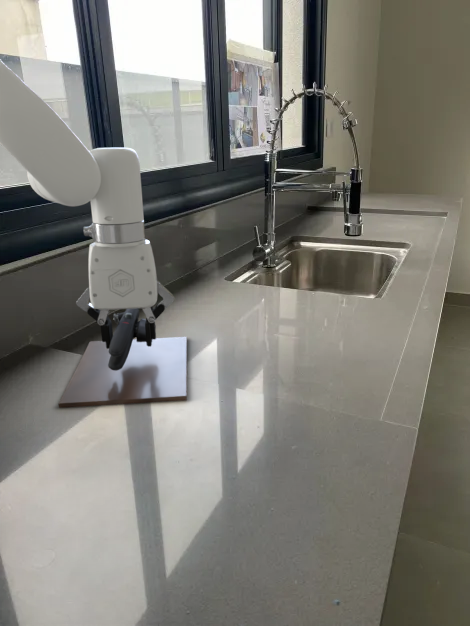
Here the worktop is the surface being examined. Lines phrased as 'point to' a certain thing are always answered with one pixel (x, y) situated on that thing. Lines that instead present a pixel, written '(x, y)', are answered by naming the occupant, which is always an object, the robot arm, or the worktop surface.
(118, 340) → the can opener
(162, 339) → the cutting board
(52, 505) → the worktop surface
